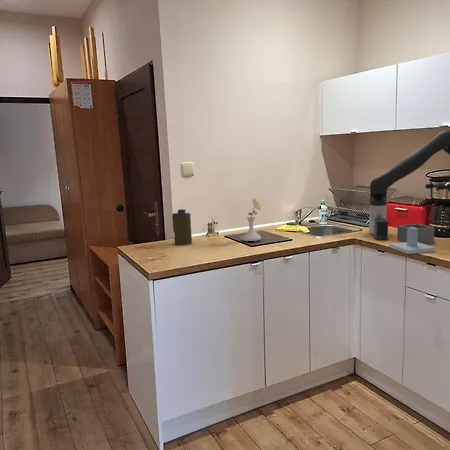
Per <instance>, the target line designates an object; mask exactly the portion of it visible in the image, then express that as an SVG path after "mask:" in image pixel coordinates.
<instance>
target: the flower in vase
mask: <svg viewBox="0 0 450 450" xmlns="http://www.w3.org/2000/svg"><path fill="white" fill-rule="evenodd" d="M252 203H253V208H252V211H251V212H250V211H249V212H248V216H249V217H246V219H247V221H248V227H249V228H248V231H247V232H246V233H245V234H244V235H243V236H242V237H241V240H242V241H244V242H248V241H254V242H259V241H260V240H262V237H261V235H260V234H259V233H258V232H257V231H255V229H254V221H255V219H256V217H255V216H256V215H257V214H258V212H257V211H256V210H258V211H261V210H262V204H261V203H260V201H259V200H257V198H256V197H254V198H252ZM254 209H256V210H254ZM253 215H255V216H253ZM258 240H259V241H258Z"/></svg>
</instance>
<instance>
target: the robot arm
mask: <svg viewBox="0 0 450 450" xmlns="http://www.w3.org/2000/svg"><path fill="white" fill-rule="evenodd" d="M440 151H444V152H445V153H447V154H448V155H449V156H450V130H442V131H440V132H438V134H436V135H435V136H434V137H433V138H432V139H430V140H429V141H428V142H427V143H426V144H425V143H424V145H422V146H421V147H419V148H417V149H416V150H414V151H413V152H411V153H410V154H408V155H406V156H405V157H404V158H403V159H401V160H399V162H397V163H396V164H395V165H394V166H393V167H392V168H391V169H390V170H389V171H387V172H385V173H384V174H382V175H380V176H379V177H375V178H372V180H371V181H370V184H369V189H370V190H369V192H370V194H369V195H370V196H369V217H368V218H369V219H368V233H369V234H371V235H374V223H375V221H374V219H386V220H387V201H388V200H387V195H388V193H387V192H388V191H387V190H388V189H389V188H390V187H391V186H392V185H394V184H395V183H397V182H398V181H400V180H402V179H404V178H405V177H407V176H409V175H410V174H412V173H414V172H415V171H417V170H418V169H420V168H421V167H422V166H424V165H425V163H426V162H427V161H429V159H431V158H432V157H433V156H434V155H435V154H437V153H439V152H440ZM425 189H426V190H427V189H428V190H429V189H433V190H434V189H436V191H441V190H443V191H444V190H445V191H448V192H449V193H450V179H448V180H447V181H443V182H431V183H426V184H425Z"/></svg>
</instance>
